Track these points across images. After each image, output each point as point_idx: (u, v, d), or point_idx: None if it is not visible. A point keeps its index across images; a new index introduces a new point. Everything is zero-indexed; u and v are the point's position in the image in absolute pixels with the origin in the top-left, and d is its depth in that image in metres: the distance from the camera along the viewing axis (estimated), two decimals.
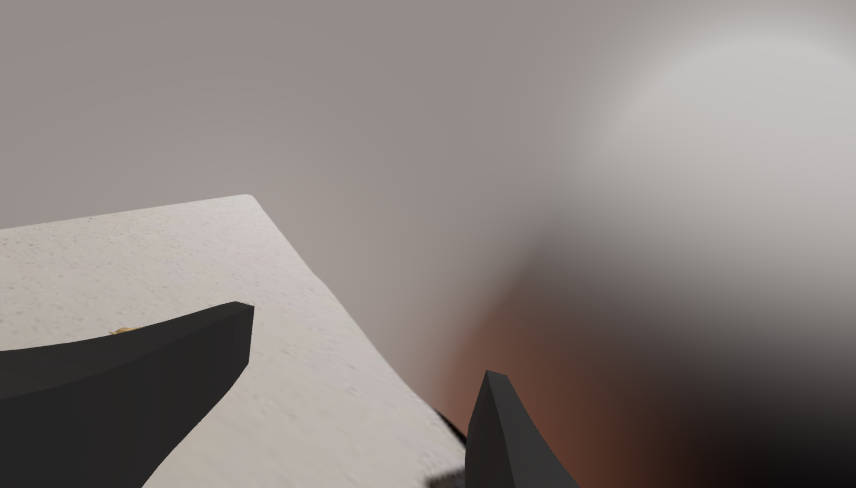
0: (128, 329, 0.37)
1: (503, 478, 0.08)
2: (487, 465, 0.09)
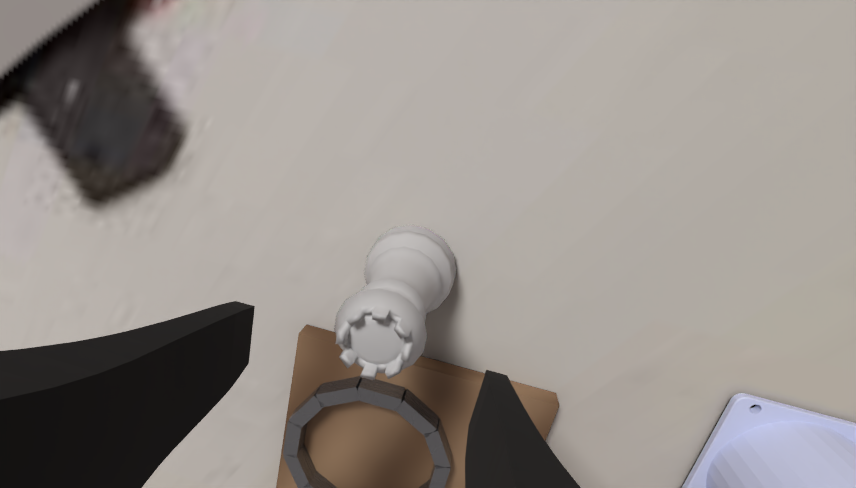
0: None
1: (503, 478, 0.08)
2: (487, 465, 0.09)
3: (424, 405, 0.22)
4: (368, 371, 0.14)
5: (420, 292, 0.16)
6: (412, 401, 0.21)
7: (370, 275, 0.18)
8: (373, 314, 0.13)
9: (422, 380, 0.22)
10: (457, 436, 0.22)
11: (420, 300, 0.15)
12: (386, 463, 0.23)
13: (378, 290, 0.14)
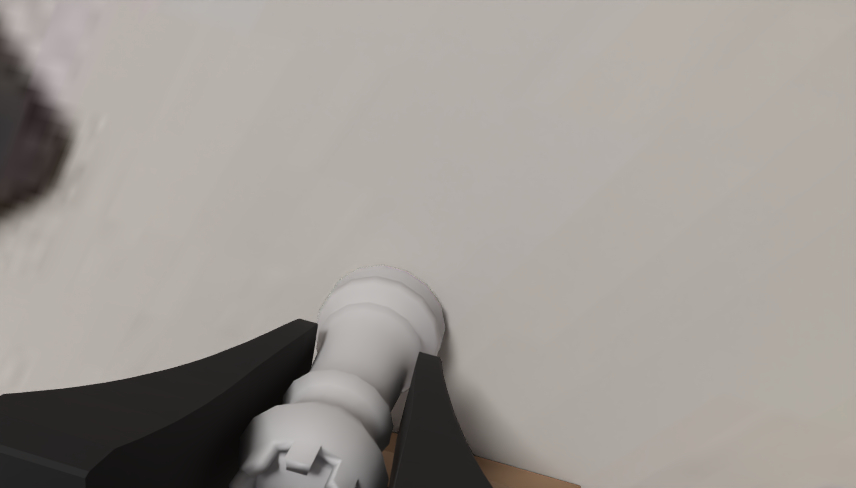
0: None
1: (402, 449, 0.08)
2: (402, 440, 0.09)
3: None
4: None
5: (386, 383, 0.11)
6: None
7: (320, 342, 0.13)
8: (287, 462, 0.07)
9: None
10: None
11: (382, 404, 0.10)
12: None
13: (304, 407, 0.08)
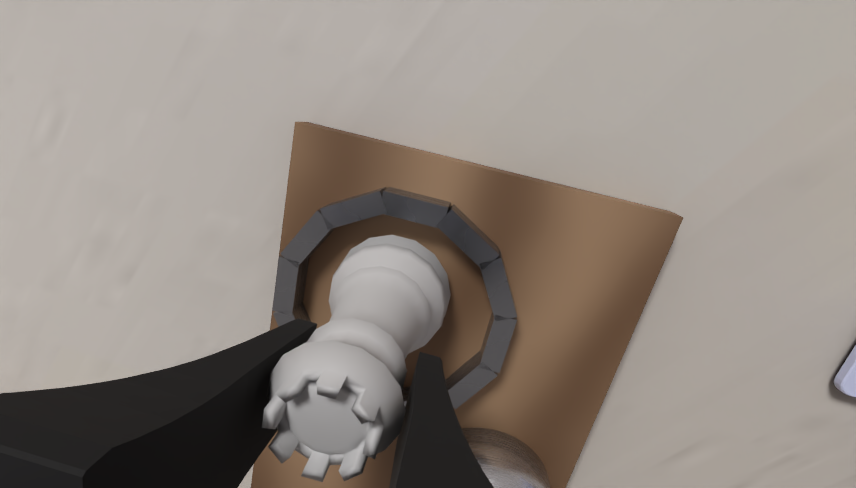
0: None
1: (403, 449, 0.08)
2: (403, 441, 0.09)
3: (478, 228, 0.15)
4: (314, 468, 0.09)
5: (400, 335, 0.11)
6: (462, 216, 0.14)
7: (334, 303, 0.14)
8: (318, 386, 0.08)
9: (476, 188, 0.15)
10: (524, 278, 0.15)
11: (398, 350, 0.10)
12: None
13: (331, 343, 0.09)
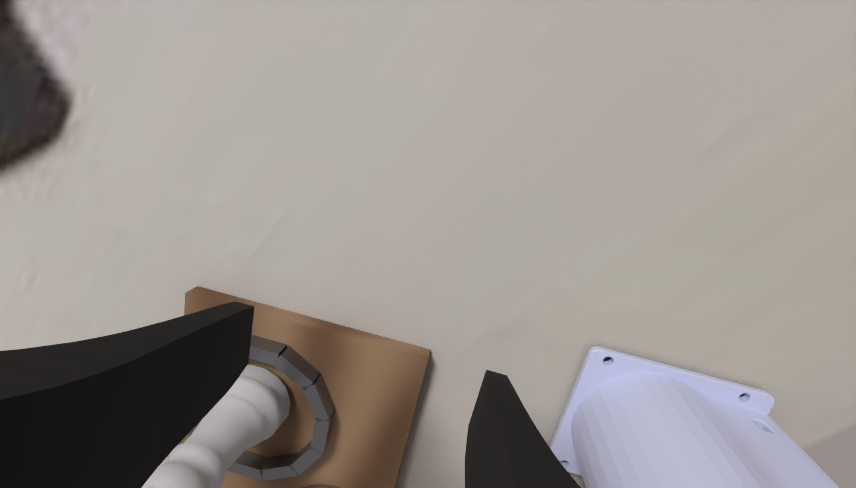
0: None
1: (503, 478, 0.08)
2: (487, 465, 0.09)
3: (305, 361, 0.23)
4: None
5: (227, 447, 0.19)
6: (291, 356, 0.22)
7: None
8: None
9: (302, 337, 0.23)
10: (339, 391, 0.23)
11: (217, 461, 0.19)
12: None
13: (165, 468, 0.17)
